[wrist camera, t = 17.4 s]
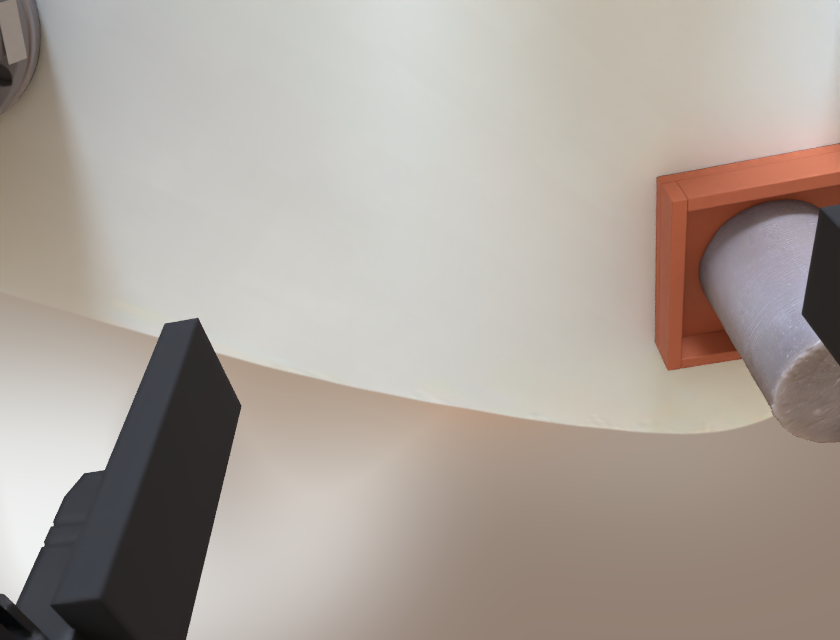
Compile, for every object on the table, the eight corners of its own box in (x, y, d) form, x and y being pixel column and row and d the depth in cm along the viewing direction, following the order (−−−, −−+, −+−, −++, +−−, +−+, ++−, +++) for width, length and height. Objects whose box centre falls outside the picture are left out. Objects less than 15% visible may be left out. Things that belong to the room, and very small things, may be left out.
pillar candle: (846, 272, 53) (977, 419, 41) (718, 329, 56) (805, 481, 44) (816, 171, 48) (955, 306, 36) (676, 239, 51) (762, 385, 39)
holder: (654, 342, 58) (667, 371, 55) (656, 176, 49) (672, 201, 46) (846, 310, 56) (870, 339, 54) (885, 134, 47) (916, 157, 44)
